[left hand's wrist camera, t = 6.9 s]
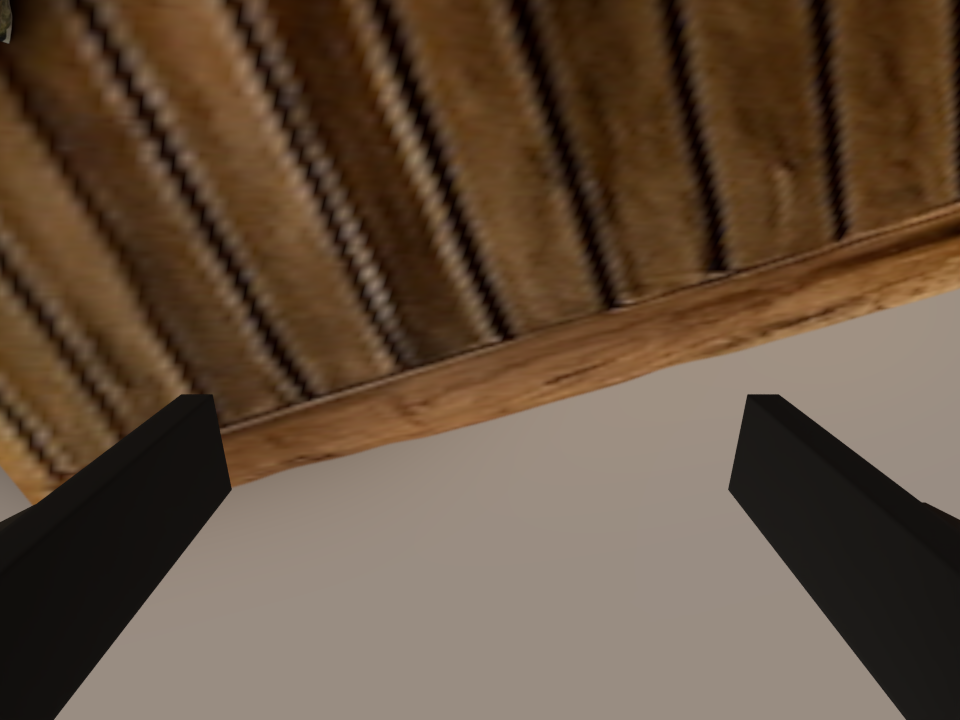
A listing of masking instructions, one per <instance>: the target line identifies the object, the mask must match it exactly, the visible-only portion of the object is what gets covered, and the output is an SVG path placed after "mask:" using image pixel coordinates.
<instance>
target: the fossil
mask: <svg viewBox="0 0 960 720" xmlns="http://www.w3.org/2000/svg"><path fill="white" fill-rule="evenodd" d="M11 28H12V13H11V8H10V1H9V0H0V41H2V42H5V43H9V41H10V35H11Z"/></svg>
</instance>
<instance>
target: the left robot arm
mask: <svg viewBox="0 0 960 720" xmlns="http://www.w3.org/2000/svg"><path fill="white" fill-rule="evenodd" d="M231 490H232V488H231V484H230V479H229V474H228V469H227V464H226V459H225V454H224V449H223V444H222V439H221V434H220V429H219V424H218V419H217V414H216V409H215V404H214V399H213V394H181V395H180V396H179V397H177V398H176V399H175V400H173V401H172V402H171V403H169V404H168V405H167V406H165V407H164V408H163V409H161V410H160V411H159V412H157V413H156V414H155V415H153V416H152V417H151V418H150V419H148V420H147V421H146V422H144V423H143V424H142V425H140V426H139V427H138V428H136V429H135V430H134V431H132V432H131V433H130V434H128V435H127V436H126V437H124V438H123V439H122V440H120V441H119V442H118V443H116V444H115V445H114V446H112V447H111V448H110V449H109V450H107V451H106V452H105V453H103V454H102V455H101V456H99V457H98V458H97V459H95V460H94V461H93V462H91V463H90V464H89V465H87V466H86V467H85V468H83V469H82V470H81V471H79V472H78V473H77V474H75V475H74V476H73V477H71V478H70V479H69V480H68V481H66V482H65V483H64V484H62V485H61V486H60V487H58V488H57V489H56V490H54V491H53V492H52V493H50V494H49V495H48V496H46V497H45V498H44V499H42V500H41V501H40V502H38V503H37V504H35V505H33V506H31V507H29V508H27V509H25V510H23V511H21V512H19V513H17V514H15V515H13V516H12V517H9V518H8V519H6V520H4V521H2V522H0V720H54V719H55V718H56V716H57V715H58V714H59V712H60V711H61V710H62V708H63V707H64V706H65V704H66V703H67V702H68V701H69V699H70V698H71V697H72V695H73V694H74V693H75V692H76V690H77V689H78V688H79V686H80V685H81V684H82V683H83V681H84V680H85V679H86V677H87V676H88V675H89V673H90V672H91V671H92V670H93V668H94V667H95V666H96V664H97V663H98V662H99V661H100V659H101V658H102V657H103V655H104V654H105V653H106V652H107V650H108V649H109V648H110V646H111V645H112V644H113V642H114V641H115V640H116V639H117V637H118V636H119V635H120V633H121V632H122V631H123V630H124V628H125V627H126V626H127V624H128V623H129V622H130V620H131V619H132V618H133V617H134V615H135V614H136V613H137V612H138V610H139V609H140V608H141V606H142V605H143V604H144V602H145V601H146V600H147V599H148V597H149V596H150V595H151V593H152V592H153V591H154V590H155V588H156V587H157V586H158V584H159V583H160V582H161V580H162V579H163V578H164V576H165V575H166V574H167V573H168V571H169V570H170V569H171V568H172V566H173V565H174V564H175V562H176V561H177V560H178V558H179V557H180V556H181V555H182V553H183V552H184V551H185V549H186V548H187V547H188V545H189V544H190V543H191V542H192V540H193V539H194V538H195V536H196V535H197V534H198V533H199V531H200V530H201V529H202V527H203V526H204V525H205V524H206V522H207V521H208V520H209V518H210V517H211V516H212V514H213V513H214V512H215V511H216V509H217V508H218V507H219V505H220V504H221V503H222V502H223V500H224V499H225V498H226V496H227V495H228V494H229V493H230V491H231ZM728 490H729V491H730V493H731V494H732V495H733V496H734V498H735V499H736V500H737V501H738V503H739V504H740V505H741V507H742V508H743V509H744V511H745V512H746V513H747V514H748V516H749V517H750V518H751V520H752V521H753V522H754V524H755V525H756V526H757V527H758V529H759V530H760V531H761V533H762V534H763V535H764V536H765V538H766V539H767V540H768V542H769V543H770V544H771V545H772V547H773V548H774V549H775V551H776V552H777V553H778V555H779V556H780V557H781V558H782V560H783V561H784V562H785V564H786V565H787V566H788V567H789V569H790V570H791V571H792V573H793V574H794V575H795V577H796V578H797V579H798V580H799V582H800V583H801V584H802V586H803V587H804V588H805V590H806V591H807V592H808V593H809V595H810V596H811V597H812V599H813V600H814V601H815V602H816V604H817V605H818V606H819V608H820V609H821V610H822V612H823V613H824V614H825V615H826V617H827V618H828V619H829V621H830V622H831V623H832V624H833V626H834V627H835V628H836V630H837V631H838V632H839V633H840V635H841V636H842V637H843V639H844V640H845V641H846V643H847V644H848V645H849V646H850V648H851V649H852V650H853V652H854V653H855V654H856V655H857V657H858V658H859V659H860V661H861V662H862V663H863V665H864V666H865V667H866V668H867V670H868V671H869V672H870V674H871V675H872V676H873V677H874V679H875V680H876V681H877V683H878V684H879V685H880V686H881V688H882V689H883V690H884V692H885V693H886V694H887V696H888V697H889V698H890V699H891V701H892V702H893V703H894V704H895V706H896V707H897V708H898V710H899V711H900V712H901V714H902V715H903V716H904V717H905V719H906V720H960V520H959V519H957V518H955V517H953V516H951V515H949V514H947V513H945V512H943V511H941V510H939V509H937V508H935V507H933V506H931V505H929V504H927V503H922V502H920V501H919V500H917V499H916V498H915V497H914V496H912V495H911V494H910V493H908V492H907V491H906V490H904V489H903V488H902V487H900V486H899V485H898V484H896V483H895V482H894V481H892V480H891V479H890V478H889V477H887V476H886V475H884V474H883V473H882V472H881V471H879V470H878V469H877V468H875V467H874V466H873V465H871V464H870V463H869V462H867V461H866V460H865V459H863V458H862V457H861V456H859V455H858V454H857V453H855V452H854V451H853V450H851V449H850V448H849V447H847V446H846V445H845V444H844V443H842V442H841V441H840V440H838V439H837V438H836V437H834V436H833V435H832V434H830V433H829V432H828V431H826V430H825V429H824V428H822V427H821V426H820V425H818V424H817V423H816V422H814V421H813V420H812V419H810V418H809V417H808V416H807V415H805V414H804V413H803V412H801V411H800V410H799V409H797V408H796V407H795V406H793V405H792V404H791V403H789V402H788V401H787V400H785V399H784V398H783V397H781V396H780V395H778V394H771V395H769V394H748V395H747V399H746V404H745V409H744V414H743V419H742V424H741V429H740V434H739V439H738V444H737V449H736V454H735V459H734V464H733V469H732V474H731V479H730V484H729V488H728Z"/></svg>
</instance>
